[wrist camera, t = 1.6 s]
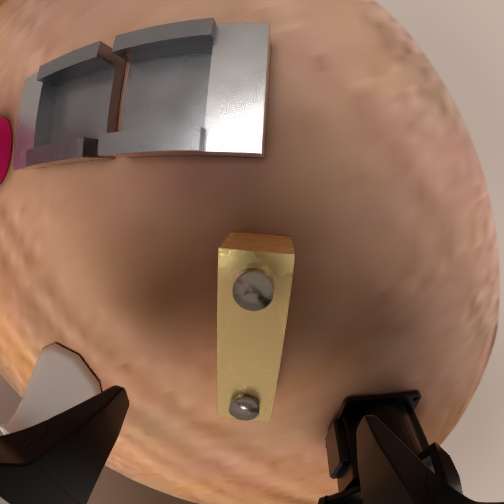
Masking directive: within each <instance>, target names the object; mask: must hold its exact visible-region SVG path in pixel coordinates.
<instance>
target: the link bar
mask: <svg viewBox="0 0 504 504" xmlns="http://www.w3.org/2000/svg"><path fill="white" fill-rule="evenodd" d="M294 260H295V252H294V248H293V244H292V239H291V237H289V236H278V235H266V234H254V233H242V232H231V233H230V235H229V236H228V237H227V238H226V239H225V241H224V242H223V243H222V244H221V246H220V247H219V254H218V294H217V399H218V416H219V417H226V418H233V419H239V420H251V421H262V422H270V419H271V414H272V408H273V403H274V397H275V392H276V386H277V380H278V374H279V368H280V362H281V356H282V349H283V343H284V336H285V329H286V322H287V315H288V308H289V300H290V293H291V285H292V277H293V268H294Z"/></svg>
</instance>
